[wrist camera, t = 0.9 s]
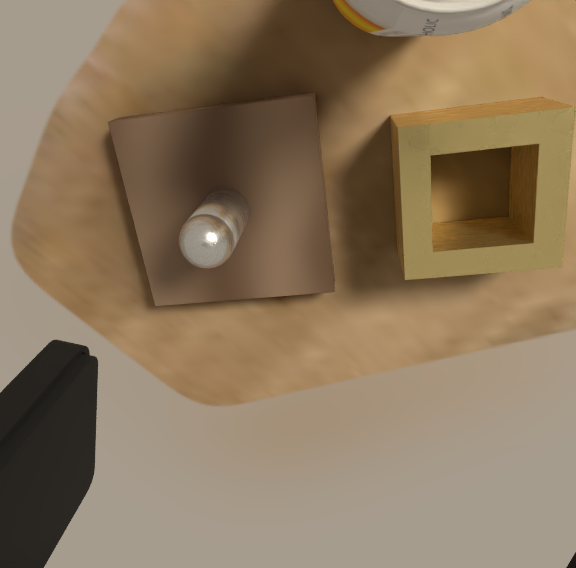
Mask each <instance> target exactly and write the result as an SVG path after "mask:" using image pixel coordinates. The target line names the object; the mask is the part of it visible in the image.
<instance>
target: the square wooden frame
mask: <svg viewBox="0 0 576 568" xmlns="http://www.w3.org/2000/svg"><path fill="white" fill-rule="evenodd" d="M574 117H575V107H574V106H571V105H567V104H564V103H561V102H557V101H554V100H550V99H547V98H544V97H537V98H529V99H521V100H512V101H504V102H496V103H488V104H480V105H471V106H463V107H455V108H447V109H439V110H430V111H422V112H414V113H406V114H398V115H390V122H391V142H392V161H393V180H394V200H395V219H396V239H397V251H398V255H399V259H400V263H401V267H402V271H403V274H404V278H405V280H412V279H425V278H437V277H450V276H462V275H474V274H487V273H499V272H512V271H524V270H536V269H549V268H561V267H562V263H563V251H564V239H565V227H566V215H567V202H568V190H569V178H570V166H571V154H572V141H573V129H574ZM503 147H511V160H510V187H509V215H508V216H506V217H495V218H484V219H474V220H463V221H452V222H442V223H432V200H431V157H430V156H431V155H440V154H449V153H458V152H467V151H476V150H485V149H494V148H503Z"/></svg>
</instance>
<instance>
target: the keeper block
mask: <svg viewBox="0 0 576 568" xmlns="http://www.w3.org/2000/svg"><path fill="white" fill-rule="evenodd" d="M108 124H109V128H110V132H111V136H112V140H113V144H114V148H115V152H116V155H117V159H118V163H119V167H120V171H121V175H122V179H123V183H124V187H125V190H126V194H127V198H128V202H129V206H130V210H131V214H132V218H133V222H134V225H135V229H136V233H137V237H138V241H139V245H140V249H141V253H142V257H143V260H144V264H145V268H146V272H147V276H148V280H149V284H150V288H151V292H152V295H153V299H154V303H155V306H164V305H176V304H189V303H202V302H214V301H227V300H239V299H252V298H265V297H277V296H290V295H303V294H315V293H328V292H334V288H335V279H334V269H333V259H332V250H331V240H330V230H329V221H328V211H327V202H326V192H325V182H324V173H323V163H322V154H321V144H320V134H319V125H318V115H317V106H316V96H315V92H314V93H306V94H298V95H291V96H283V97H275V98H268V99H260V100H252V101H245V102H237V103H229V104H222V105H214V106H206V107H198V108H191V109H183V110H175V111H168V112H160V113H152V114H145V115H137V116H129V117H122V118H118V119H115V120H112V121H109V122H108Z"/></svg>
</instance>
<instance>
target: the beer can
mask: <svg viewBox="0 0 576 568" xmlns="http://www.w3.org/2000/svg"><path fill="white" fill-rule="evenodd" d="M529 1H530V0H333V2H334V3H335V5H336V7H337V8H338V10H339V11H340V12H341V14H342V15H343V16H344V17H345V18H346V19H347V20H348V21H349V22H351V23H352V24H353V25H354V26H356V27H358V28H359V29H361V30H363V31H365V32H367V33H370V34H374V35H378V36H386V37H400V36H438V35H451V34H459V33H463V32H468V31H473V30H476V29H479V28H481V27H484V26H487V25H490V24H492V23H494V22H496V21H498V20H501V19H503V18H505V17H506V16H508V15H510V14H511V13H513V12H515V11H516V10H518V9H520V8H521V7H522V6H524V5H525V4H526V3H528V2H529Z"/></svg>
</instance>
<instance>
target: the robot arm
mask: <svg viewBox="0 0 576 568" xmlns="http://www.w3.org/2000/svg"><path fill="white" fill-rule="evenodd" d="M97 378H98V360H97V358H96V357H95V356H90V355H89V349H88V347H86V346H83V345H79V344H74V343H69V342H65V341H60V340H53V341H51V342H50V343H49V344H48V345H47V346H46V347H45V348H44V349H43V350H42V351H41V352H40V353H39V354H38V355H37V356H36V357H35V358H34V359H33V360H32V361H31V362H30V363H29V364H28V365H27V366H26V367H25V368H24V369H23V370H22V371H21V372H20V373H19V374H18V375H17V376H16V377H15V378H14V379H13V380H12V381H11V382H10V383H9V385H7V386H6V388H4V390H3V391H2V392H1V393H0V568H44V566H45V564H46V563H47V561H48V559H49V557H50V556H51V554H52V552H53V550H54V549H55V547H56V545H57V543H58V542H59V540H60V538H61V537H62V535H63V533H64V531H65V530H66V528H67V526H68V524H69V523H70V521H71V519H72V517H73V516H74V514H75V512H76V511H77V509H78V507H79V505H80V504H81V502H82V500H83V498H84V497H85V495H86V493H87V491H88V489H89V487H90V484H91V482H92V479H93V475H94V468H95V440H96V410H97ZM567 568H576V553H575V554H574V556H573V558H572V559H571V561H570V563H569V564H568V566H567Z"/></svg>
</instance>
